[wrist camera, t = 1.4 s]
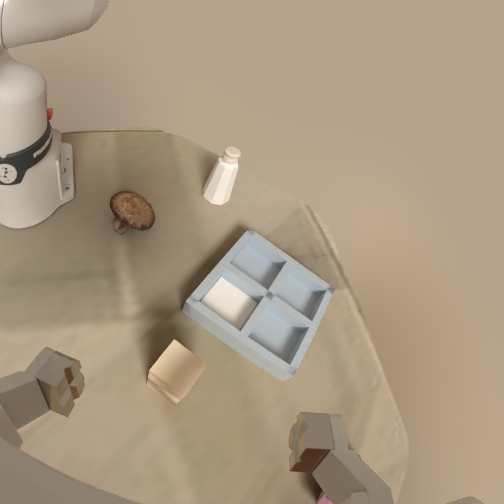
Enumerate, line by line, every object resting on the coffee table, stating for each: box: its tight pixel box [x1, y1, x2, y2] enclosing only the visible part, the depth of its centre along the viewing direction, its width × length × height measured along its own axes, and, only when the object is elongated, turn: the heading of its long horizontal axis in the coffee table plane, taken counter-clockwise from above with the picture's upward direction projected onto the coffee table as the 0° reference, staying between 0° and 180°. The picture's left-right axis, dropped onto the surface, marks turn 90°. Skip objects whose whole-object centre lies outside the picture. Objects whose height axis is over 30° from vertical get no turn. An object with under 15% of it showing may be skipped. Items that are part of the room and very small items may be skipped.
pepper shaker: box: [203, 146, 241, 205], centre depth 53 cm, size 5×5×11 cm
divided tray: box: [182, 228, 335, 382], centre depth 46 cm, size 18×18×4 cm
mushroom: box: [110, 192, 155, 235], centre depth 45 cm, size 8×8×6 cm
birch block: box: [147, 339, 208, 405], centre depth 32 cm, size 4×4×9 cm
